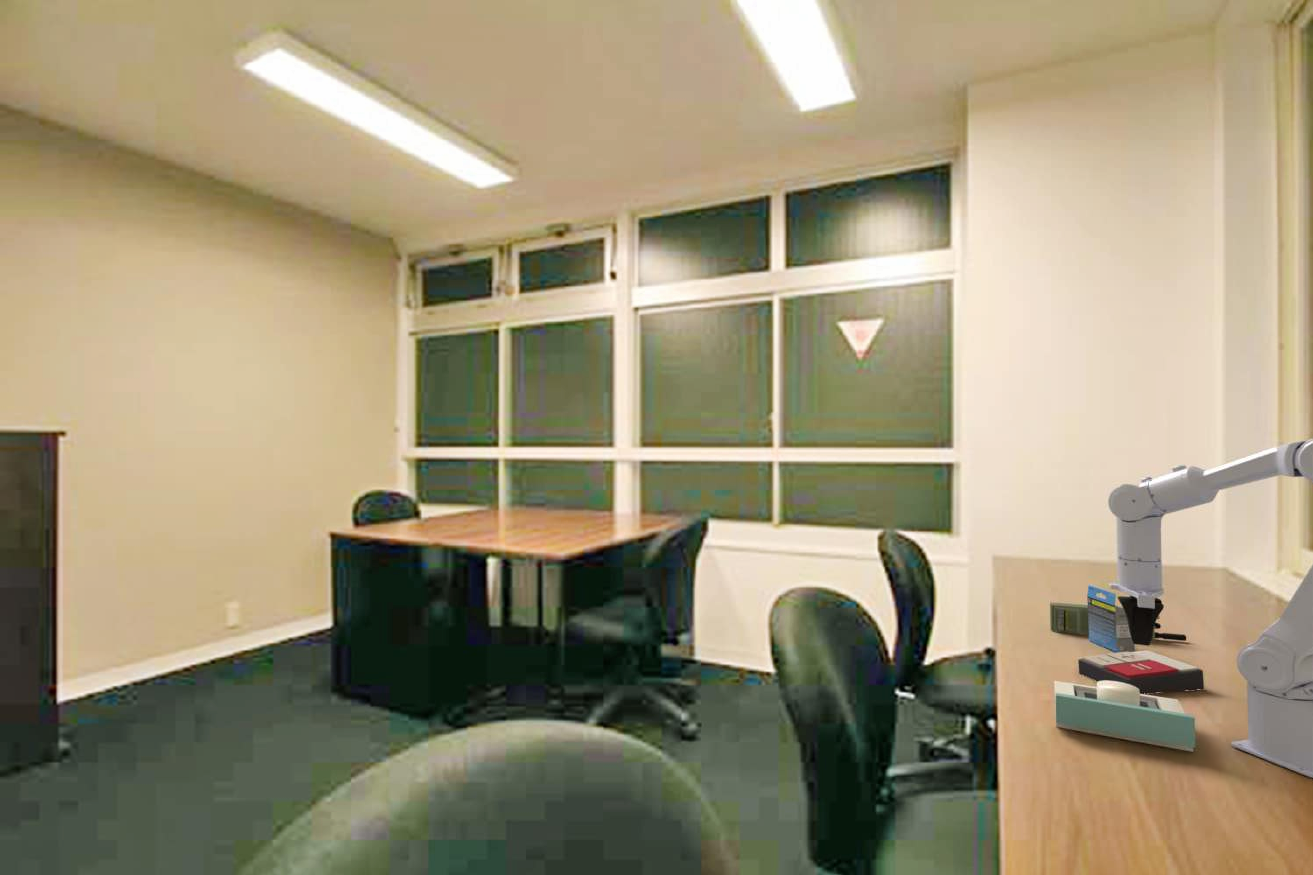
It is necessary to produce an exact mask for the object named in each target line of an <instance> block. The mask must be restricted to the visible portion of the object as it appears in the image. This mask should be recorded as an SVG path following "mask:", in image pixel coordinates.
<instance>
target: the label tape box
mask: <svg viewBox="0 0 1313 875" xmlns="http://www.w3.org/2000/svg"><path fill="white" fill-rule="evenodd" d="M1097 594H1098V595H1099V594H1101V595H1102V596H1104V597H1101V596H1098V595H1097ZM1116 594H1117V593H1115V592H1111V591H1108V590H1105V589H1102V588H1100V587H1097V586H1094V585H1092V584H1088V586H1087V594H1086V599H1087V600H1086V601H1087V605H1088V623H1089V635H1088V640H1089V642H1091V643H1093V644H1096V645H1098V646H1101V647H1103V648H1106V649H1108V650H1110V651H1112V652H1113V653H1119V652H1136V650H1135V644H1134V643H1133V641H1132V639H1131V635H1130V631H1129V627H1128V622H1127V618H1126V614H1125V612H1124V609H1123V607H1122V608H1120V606H1118V605H1116Z"/></svg>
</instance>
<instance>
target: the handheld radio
mask: <svg viewBox="0 0 1313 875" xmlns="http://www.w3.org/2000/svg"><path fill="white" fill-rule="evenodd" d="M1119 607H1120V606H1119ZM1120 608H1123V607H1122V606H1121V607H1120ZM1049 611H1050V612H1049V618H1050V623H1049V624H1050V631H1051V632H1052V633H1053V632H1054V633H1064V634H1066V633H1067V634H1073V635H1074V634H1075V635H1085V636H1089V623H1088V604H1080V603H1079V604H1077V603H1066V602H1051V601H1050V602H1049ZM1160 617H1161V616H1160V615H1159V616H1158V618H1157V620H1159V619H1160ZM1161 627H1162V625H1161V624H1160V623H1159V622H1156V623H1155V626H1154V630H1153V635H1152V639H1151V642H1154V641H1156V639H1163V640H1168V641H1169V640H1172V641H1183V642H1184V641H1185V642H1186V641H1187V635H1186V634H1183V633H1182V634H1180V633H1171V632H1170V633H1167V632H1162V633H1161V632H1160V633H1159V632H1156V630H1158V629H1161Z"/></svg>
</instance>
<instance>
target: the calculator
mask: <svg viewBox="0 0 1313 875" xmlns="http://www.w3.org/2000/svg"><path fill="white" fill-rule="evenodd" d="M1077 661H1078V674H1079V675H1081V676H1083V675H1084V677H1086V676H1087V678H1088V677H1089V678H1088V679H1090V678H1091V679H1090V680H1093V679H1094V680H1093V681H1095V680H1096V681H1095V682H1096V683H1097V682H1098V681H1105V680H1107V681H1117V682H1122V683H1126V684H1130V685H1132V686H1135V687H1137V688H1138V689H1139V691H1140V694H1144V693H1145V694H1144V695H1148V694H1147V693H1155V694H1157V693H1156V692H1164V693H1170V691H1171V692H1177V691H1182V692H1186V691H1185V690H1197V689H1204V690H1205V683H1204V671H1203V669H1201V668H1199V667H1197V666H1195V665H1191V664H1188V663H1185V662H1183V661H1180V660H1177V659H1174V658H1172V657H1171V658H1170V657H1168V656H1165V655H1162V654H1159V653H1157V652H1153V651H1150V650H1146V649H1145V650H1138V651H1136V650H1135V652H1119V653H1116V652H1112V653H1106V654H1096V655H1087V656H1086V655H1085V656H1082V657H1081V659H1078V660H1077ZM1197 691H1198V690H1197Z"/></svg>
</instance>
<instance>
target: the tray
mask: <svg viewBox="0 0 1313 875" xmlns="http://www.w3.org/2000/svg"><path fill="white" fill-rule="evenodd" d="M1195 720H1196V718H1195V716H1194V715H1193V714H1191V713H1185V714H1184V713H1178V712H1172V711H1166V710H1160V709H1158V708H1157V706H1156V704H1155V702H1154V701H1150V700H1143V699H1140V706H1135V705H1129V704H1122V703H1116V702H1110V701H1104V700H1098V699H1097V692H1092V691H1086V690H1079V689H1076V696H1073V695H1067V694H1060V693H1056V717H1055V724H1056V723H1062V724H1067V725H1073V726H1078V727H1084V728H1089V729H1095V730H1100V731H1106V732H1111V733H1117V734H1122V735H1128V736H1133V737H1139V738H1144V739H1150V740H1155V741H1161V742H1166V743H1172V744H1177V745H1183V746H1188V747H1193V749H1194V748H1196V723H1195V722H1196V721H1195Z"/></svg>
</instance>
